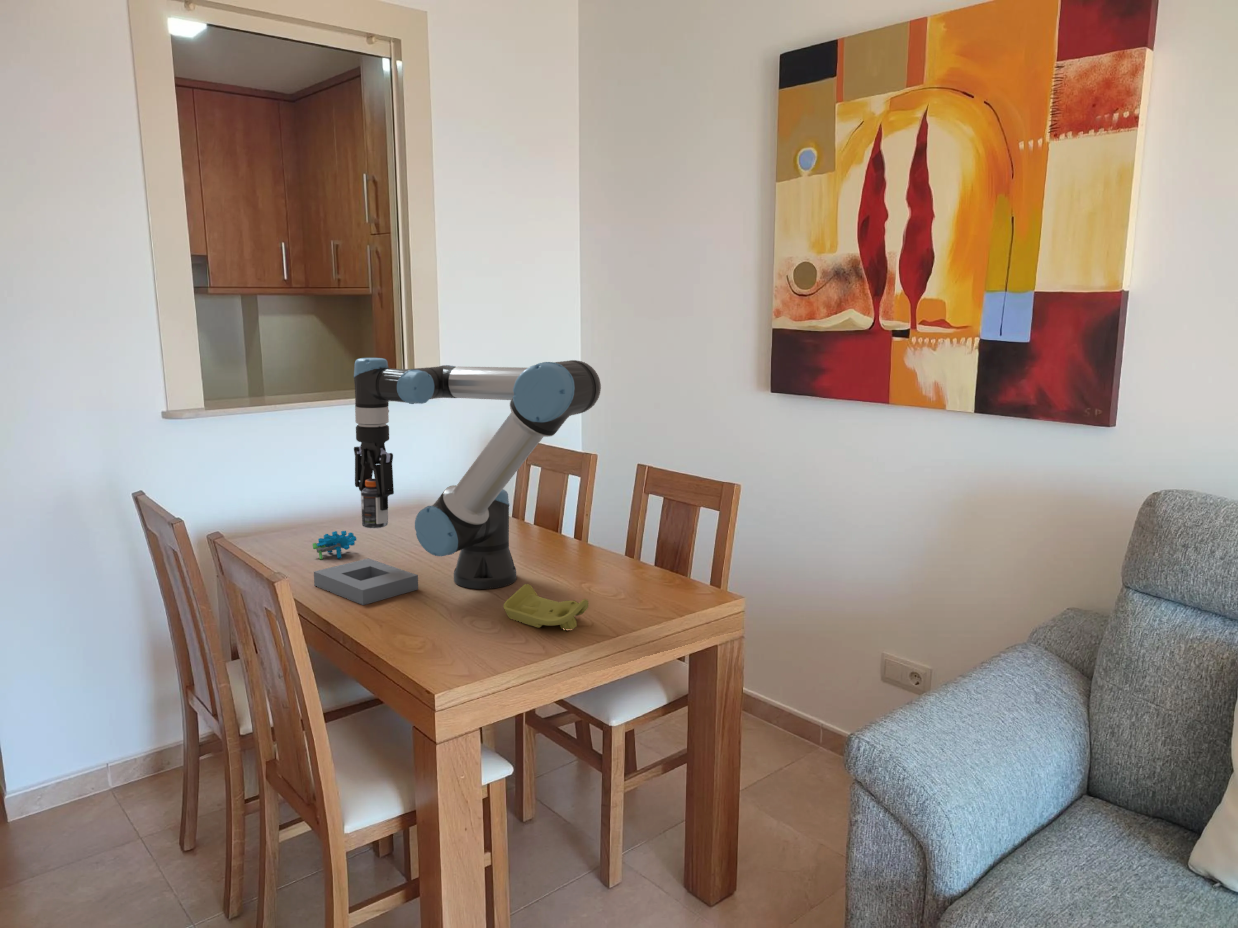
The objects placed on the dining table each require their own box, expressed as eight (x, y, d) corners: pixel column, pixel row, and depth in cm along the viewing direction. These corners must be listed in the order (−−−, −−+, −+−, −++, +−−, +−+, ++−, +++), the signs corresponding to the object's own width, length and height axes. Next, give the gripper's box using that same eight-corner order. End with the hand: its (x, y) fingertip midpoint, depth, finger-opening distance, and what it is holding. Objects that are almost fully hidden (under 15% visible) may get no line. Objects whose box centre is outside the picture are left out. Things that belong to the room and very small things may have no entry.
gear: (357, 543, 236) (353, 525, 228) (360, 562, 233) (357, 544, 225) (315, 552, 233) (309, 533, 225) (318, 571, 230) (312, 553, 222)
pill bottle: (393, 525, 209) (392, 479, 207) (374, 530, 204) (373, 483, 202) (375, 521, 212) (374, 475, 210) (356, 526, 207) (355, 479, 205)
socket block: (418, 589, 205) (417, 574, 204) (363, 605, 193) (362, 590, 193) (368, 571, 217) (368, 558, 217) (314, 585, 206) (313, 571, 205)
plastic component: (498, 607, 187) (530, 578, 193) (512, 633, 190) (543, 604, 196) (558, 625, 173) (591, 594, 179) (572, 653, 176) (603, 621, 182)
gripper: (408, 427, 200) (410, 525, 204) (365, 418, 212) (368, 510, 217) (379, 430, 194) (382, 530, 199) (337, 421, 207) (340, 515, 211)
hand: (374, 520), depth 208 cm, fingers closed on pill bottle, 6 cm apart
